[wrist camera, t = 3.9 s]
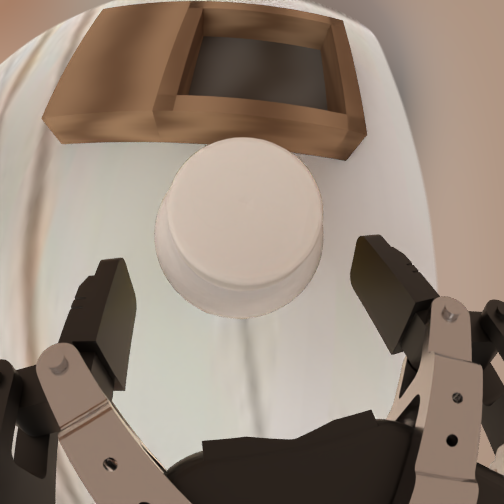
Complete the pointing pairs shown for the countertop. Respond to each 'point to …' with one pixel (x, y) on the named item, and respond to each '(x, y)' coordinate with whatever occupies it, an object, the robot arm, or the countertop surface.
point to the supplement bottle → (240, 228)
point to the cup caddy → (211, 79)
